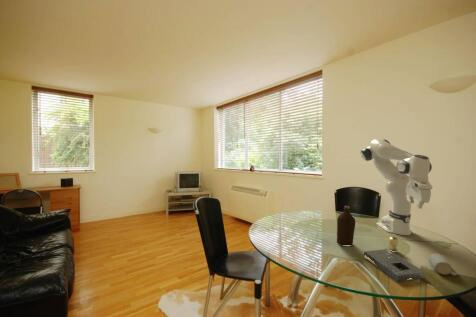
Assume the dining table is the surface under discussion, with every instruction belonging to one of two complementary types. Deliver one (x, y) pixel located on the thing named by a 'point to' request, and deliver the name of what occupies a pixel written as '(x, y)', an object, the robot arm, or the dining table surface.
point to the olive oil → (345, 227)
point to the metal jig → (394, 265)
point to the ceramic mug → (441, 265)
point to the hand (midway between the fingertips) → (415, 205)
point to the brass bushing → (393, 243)
